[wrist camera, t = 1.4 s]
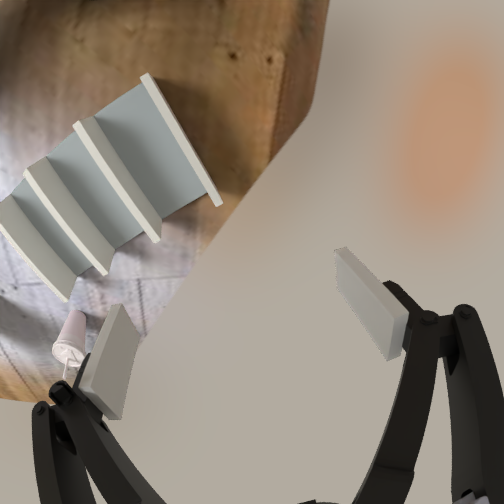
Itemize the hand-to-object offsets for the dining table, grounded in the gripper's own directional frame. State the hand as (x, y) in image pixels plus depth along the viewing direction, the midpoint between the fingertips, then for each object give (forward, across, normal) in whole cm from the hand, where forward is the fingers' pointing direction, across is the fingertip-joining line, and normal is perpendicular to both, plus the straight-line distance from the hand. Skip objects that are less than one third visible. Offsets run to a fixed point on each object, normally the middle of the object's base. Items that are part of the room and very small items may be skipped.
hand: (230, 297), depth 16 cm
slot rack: (+24, -16, +6) cm, 29 cm away
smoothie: (+26, -32, -14) cm, 44 cm away
